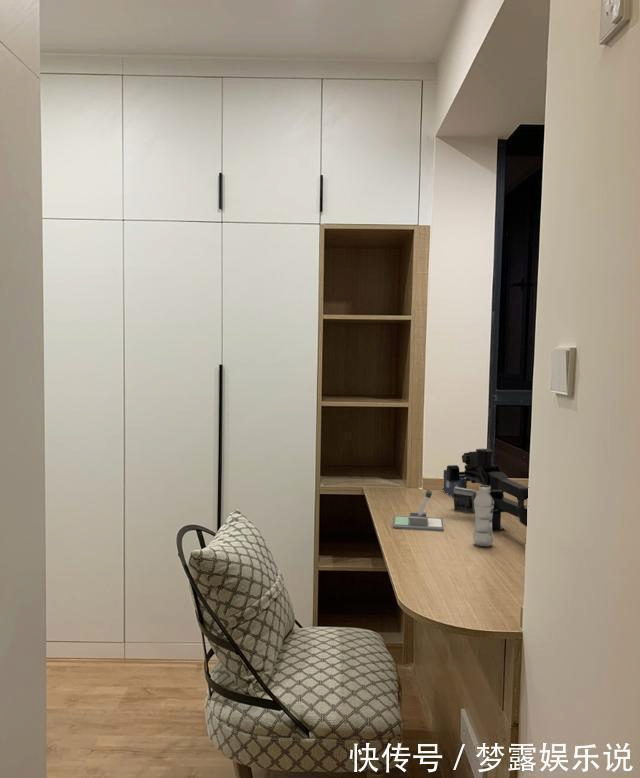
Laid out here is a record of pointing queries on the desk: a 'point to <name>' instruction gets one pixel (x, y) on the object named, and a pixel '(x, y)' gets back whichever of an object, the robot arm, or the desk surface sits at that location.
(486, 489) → the plastic bottle
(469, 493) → the electrical switch
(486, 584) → the desk surface
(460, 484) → the vhs cassette tape
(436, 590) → the desk surface
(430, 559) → the desk surface
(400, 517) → the switch plate
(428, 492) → the lever
